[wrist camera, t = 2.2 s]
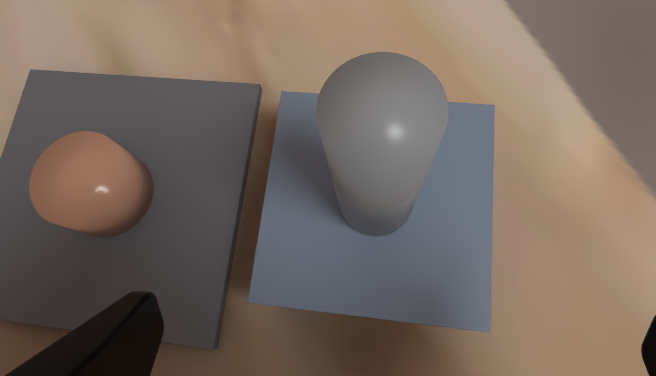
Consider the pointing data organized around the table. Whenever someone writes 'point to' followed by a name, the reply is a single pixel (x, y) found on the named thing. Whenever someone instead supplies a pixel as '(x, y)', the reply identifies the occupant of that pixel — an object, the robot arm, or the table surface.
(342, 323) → the table surface
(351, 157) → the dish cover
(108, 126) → the rubber mat
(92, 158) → the brown rounded pebble
